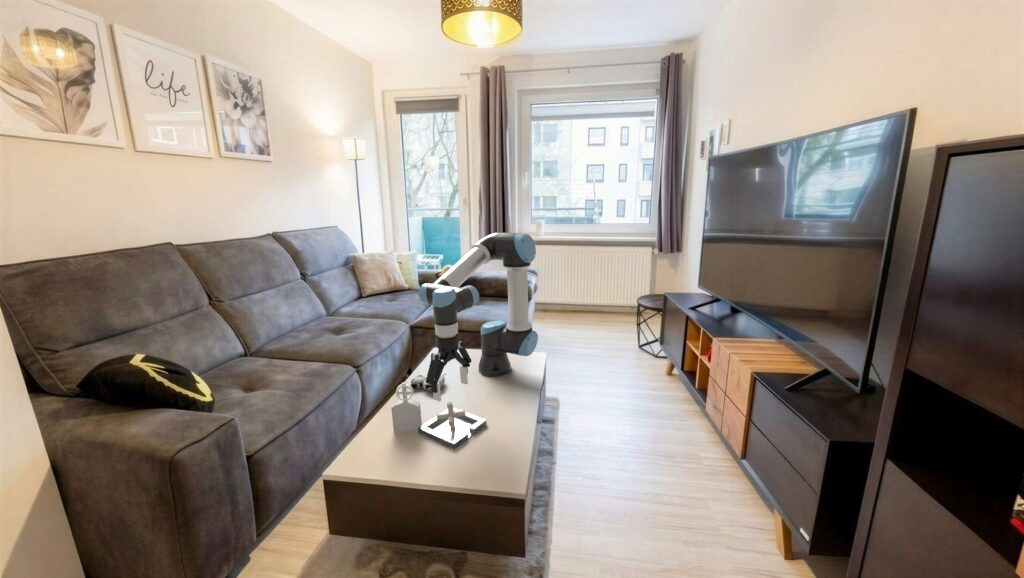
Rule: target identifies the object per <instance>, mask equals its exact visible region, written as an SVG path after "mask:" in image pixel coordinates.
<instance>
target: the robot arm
mask: <svg viewBox="0 0 1024 578" xmlns="http://www.w3.org/2000/svg"><path fill="white" fill-rule="evenodd" d="M536 249H537V247H536V243H535V241H534V239H533V238H532V236H531V235H530V234H528V233H522V232H499V231H498V232H492V233H490V234H488V235H486V236H484V237H482V238H481V239H479V240H478V241H477V242H475V243H474V244H473V245H471V247H470V250H469V251H468V252H467V253H466V254H465V255H464V256H462V257H461V258H460V259H459V260H457V262H455V263H454V264H453V265H452V266H451V267H450V268H449V269H447V270H446V271H445V272H444V273H443V274H442V275H440V276H439V277H438V278H437V279H436V280H435V281H434V282H432V283H430V282H429V283H426V282H425V283H423V284H421V285H420V287H419V289H418V299H419V300H420V301H421V303H423V304H427V305H431V306H432V308H433V319H434V330H435V331H434V332H435V333H434V334H435V345H436V347H437V349H438V351H437V353H434V352H433V353H431V354H430V363H429V365H428V366H429V367H428V370H427V375H426V383H428V384H431V389H432V391H431V392H432V395H433V400H434V401H437V402H441V401H442V396H441V395H442V394H441V387H440V383H438V380H439V378H440V376H441V374H442V373H443V371H444V368H445V366H446V365H447V364H448V363H449V362H450V361H452V360H456V361H457V362H458V363H459V364H460V366H459V377H460V383H461V384H464V385H468V384H469V382H468V381H469V380H468V374H469V370H468V369H469V368H470V366H471V363H472V359H471V357H470V355H469V352H468V351H467V349H466V347H465V343H464V341H461V340H459V325H458V314H459V313H460V312H463V311H465V310H467V309H470V308H472V307H473V306H475V305H477V304H478V303H479V301H480V292H479V291H478V289H477V287H475V286H473V285H465V286H462V287H460V286H461V285H462V284H463V283H465V281H467V280H468V279H469V278H470V277H471V276H472V275H473V274H474V273H475V272H476V271H477V270H478V269H480V267H482V266H483V265H487V264H488V263H489V262H491V261H495V260H499V261H502V266H503V267H504V269H505V270H506V278H507V279H506V280H507V281H506V283H507V305H508V323H506V321H505V320H492V321H488V322H485V323H483V324H482V325H481V326H480V343H481V344H480V345H481V347H480V348H481V356H480V360H479V363H478V372H479V373H480V374H481V375H484V376H486V377H501V376H505V375H507V374H509V372H511V370H512V369H511V368H512V366H511V362H510V360H509V356H508V354H513V355H517V356H520V357H530V356H532V354H533V353H534V352H535V349H536V348H537V345H538V341H539V340H538V339H539V335H538V332H537V331H536V330H533V323H531V322H530V321H529V320H530V319H529V289H528V287H529V286H528V284H529V283H528V269H529V267H530V266H531V263H532V262H533V261H534V260H535V258H536V255H537V254H536V253H537V250H536ZM434 379H435V380H434Z"/></svg>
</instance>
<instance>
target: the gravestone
mask: <svg viewBox="0 0 1024 578" xmlns="http://www.w3.org/2000/svg"><path fill="white" fill-rule="evenodd" d="M407 387H408V388H409V389H407ZM399 389H401V390H399ZM408 394H410V395H409V396H408ZM395 395H396V397H397V398H398V400H397V401H396V402H394V403H393V404H392V406H391V417H392V419H391V420H392V428H393V433H407V432H409V433H410V432H418V427H420V426H422V425H423V424H422V411H421V410H422V409H421V403H420V402H419V401H417V400H413V399H411V398H412V397H413V395H414V389H413V388H412V387H411V386H410V384H408V383H406V382H401V384H399V385H398V386H397V388H396V390H395ZM401 395H402V396H401Z"/></svg>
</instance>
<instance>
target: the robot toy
mask: <svg viewBox="0 0 1024 578" xmlns="http://www.w3.org/2000/svg"><path fill="white" fill-rule="evenodd" d="M446 375H447V373H444V374H442V373H441V376H440V378H439V380H438V383H440V388H442V387H443V385H444V384H445V383H446V382H445V381H446V380H445V376H446ZM426 378H427V376H426V377H425V376H423V375H420V374H419V375H416V376H415V377H414V378H412V379H411V380H410V384H409V385H410V386H411V387H412V388H413V390H414V389H420V388H422V389H424V390H425V391H429V392H432V389H431V384H428V383H426ZM434 380H435V379H434ZM406 390H410V389H409V388H408V387H406Z"/></svg>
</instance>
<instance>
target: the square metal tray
mask: <svg viewBox="0 0 1024 578" xmlns="http://www.w3.org/2000/svg"><path fill="white" fill-rule="evenodd" d="M458 411H463V410H462V409H459V408H456V407H454V412H458ZM444 413H448V408H447V409H446V410H444V411H442V412H440V414H444ZM465 414H466V416H461V417H454V421H455V429H450V426H449V424H448V423H449V418H447V419H440V420H437V415H436V416H434V417H432V418H430V419H429V420H428V421H426V422H424V423H423V424H422V426H420V427H418V431H417V432H418V434H419V435H422V436H424V437H426V438H428V439H431V440H434V441H435V442H437V443H439V444H442V445H444V446H446V447H449V448H451V449H453V450H455V449H456V448H458V447H459V446H461V445H462V444H464V442H466V441H467V440H469V439H470V438H472V436H474V435H475V434H476V433H478V432H479V431H481V430H482V429H483V428H485V427H486V426H487V419H485V418H484V417H483V418H482V417H480V416H477V415H474V414H472V413H470V412H467V411H465Z"/></svg>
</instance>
